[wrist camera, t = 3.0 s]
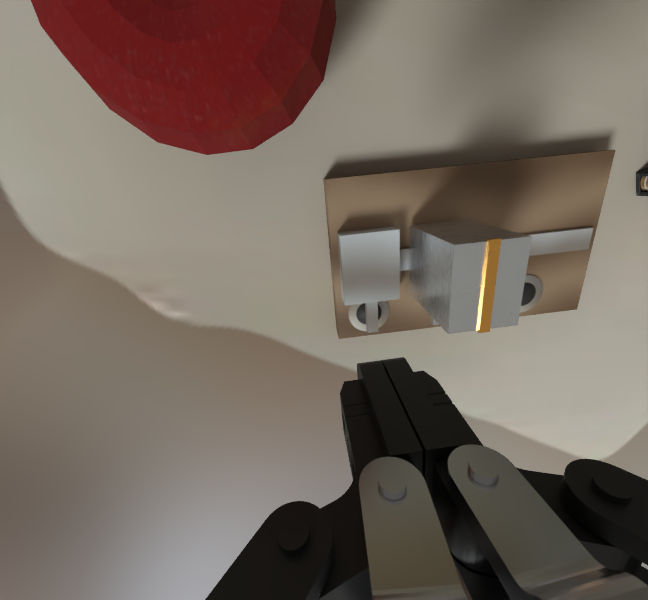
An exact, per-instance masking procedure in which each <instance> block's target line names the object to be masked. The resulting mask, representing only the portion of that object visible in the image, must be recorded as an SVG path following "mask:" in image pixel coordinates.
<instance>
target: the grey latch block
mask: <svg viewBox="0 0 648 600" xmlns="http://www.w3.org/2000/svg"><path fill="white" fill-rule="evenodd" d="M531 241H532V236H529V235H525V234H521V233H517V232H514V231H510V230H506V229H502V228H498V227H494V226H490V225H486V224H482V223H478V222H474V221H470V220H466V219H465V220H456V221H447V222H438V223H429V224H420V225H411V226H410V235H409V294H410V295H411V296H412V297H413V298H414V299H415V300H416V301H417V302H418V303H419V304H420V305H421V306H422V307H423V308H424V309H425V310H426V311H427V312H428V313H429V314H430V322H431V323H432V324H433V325H438V324H439V325H440V326H441V327H442V328H443V329H444V330H445V331H446V332H447V333H448V334H451V333H459V332H466V331H474V330H477V331H478V332H479V333H482V332H490V328H498V327H506V326H514V325H518V320H519V314H520V308H521V302H522V295H523V289H524V283H525V277H526V271H527V265H528V259H529V253H530V247H531Z"/></svg>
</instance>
